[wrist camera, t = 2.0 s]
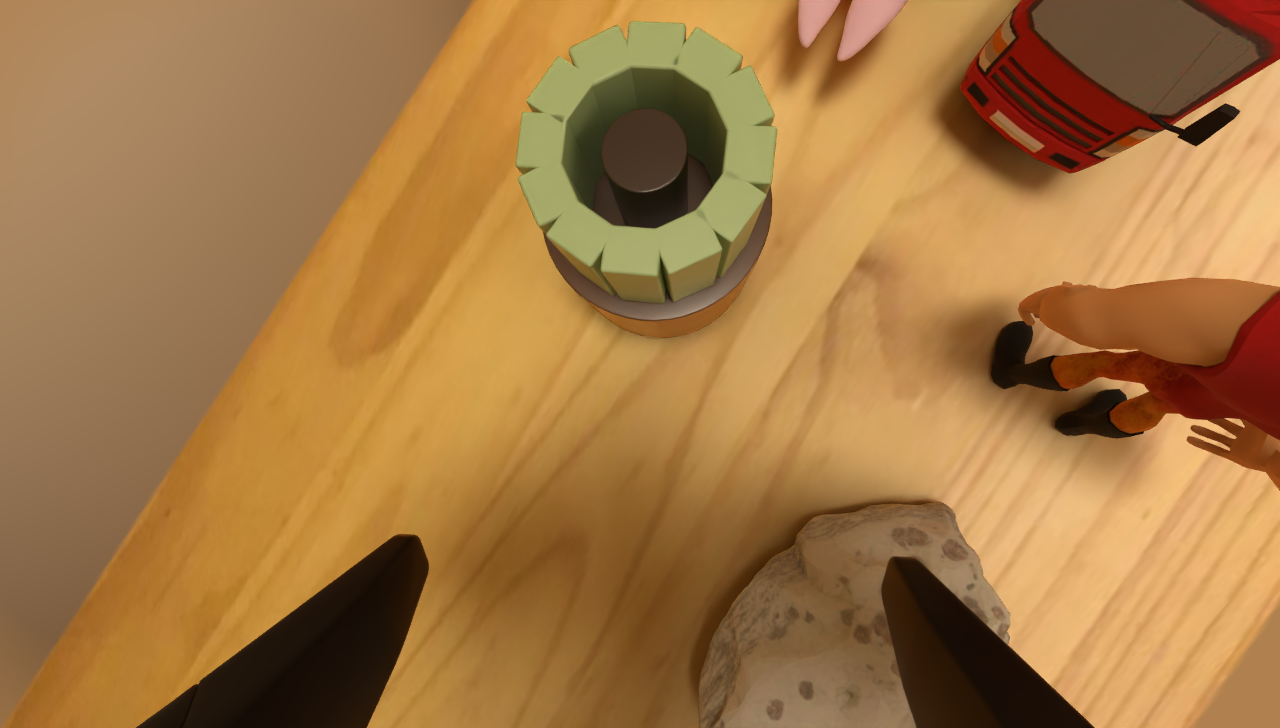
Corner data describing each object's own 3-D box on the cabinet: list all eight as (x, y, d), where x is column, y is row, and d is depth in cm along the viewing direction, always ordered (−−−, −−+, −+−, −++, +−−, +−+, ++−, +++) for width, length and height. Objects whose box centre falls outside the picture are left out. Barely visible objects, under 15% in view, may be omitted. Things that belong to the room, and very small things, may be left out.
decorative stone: (946, 823, 19) (1035, 972, 15) (678, 741, 21) (675, 855, 16) (1010, 517, 20) (1119, 561, 15) (742, 453, 21) (760, 474, 16)
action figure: (1179, 423, 19) (2827, 548, 4) (1119, 494, 19) (2542, 849, 5) (975, 276, 20) (1769, -26, 5) (920, 344, 20) (1550, 230, 6)
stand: (740, 346, 21) (782, 314, 12) (567, 328, 22) (479, 286, 13) (759, 172, 21) (814, 8, 12) (587, 160, 22) (515, -2, 13)
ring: (742, 311, 16) (761, 286, 12) (547, 293, 16) (502, 263, 12) (762, 115, 16) (788, 25, 12) (570, 105, 17) (533, 15, 13)
